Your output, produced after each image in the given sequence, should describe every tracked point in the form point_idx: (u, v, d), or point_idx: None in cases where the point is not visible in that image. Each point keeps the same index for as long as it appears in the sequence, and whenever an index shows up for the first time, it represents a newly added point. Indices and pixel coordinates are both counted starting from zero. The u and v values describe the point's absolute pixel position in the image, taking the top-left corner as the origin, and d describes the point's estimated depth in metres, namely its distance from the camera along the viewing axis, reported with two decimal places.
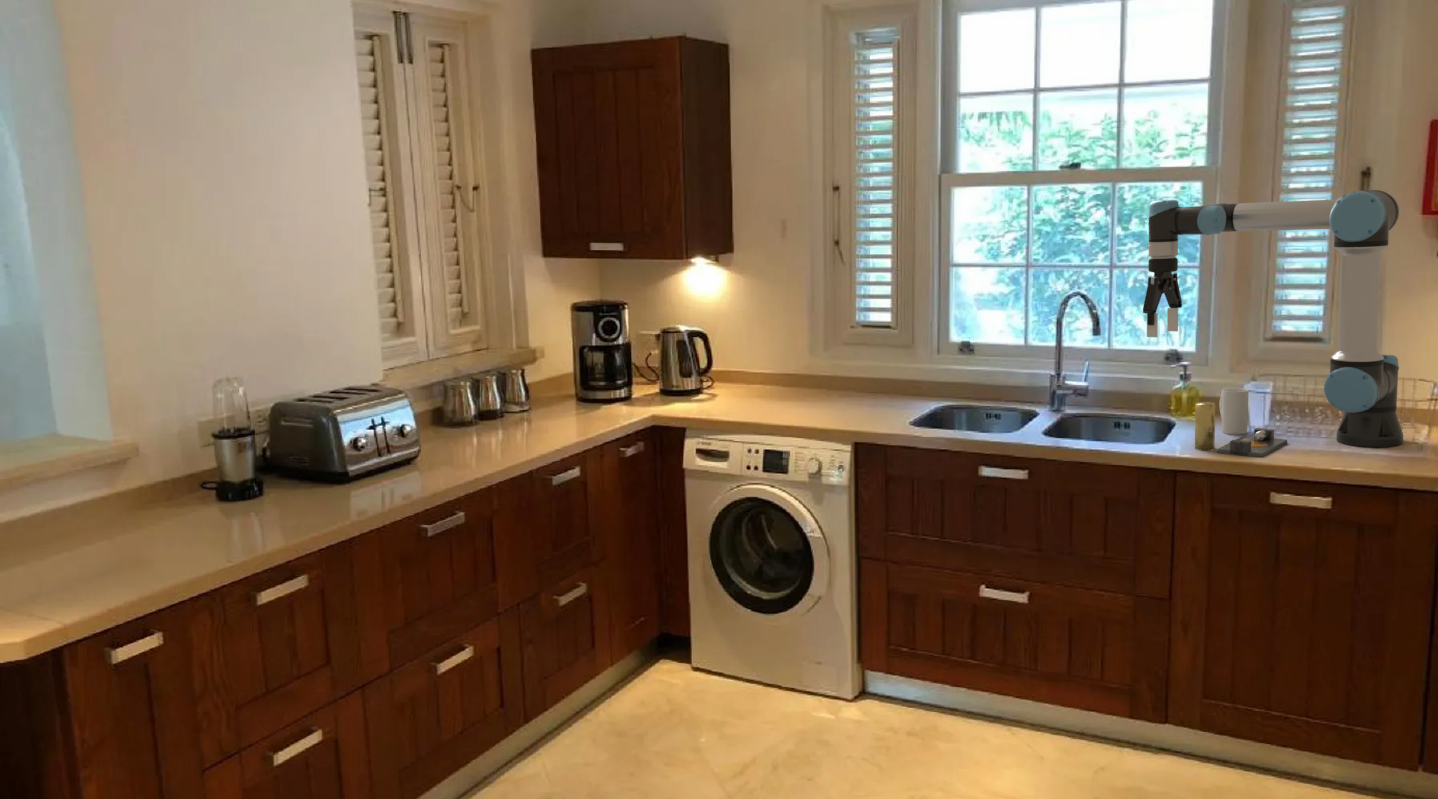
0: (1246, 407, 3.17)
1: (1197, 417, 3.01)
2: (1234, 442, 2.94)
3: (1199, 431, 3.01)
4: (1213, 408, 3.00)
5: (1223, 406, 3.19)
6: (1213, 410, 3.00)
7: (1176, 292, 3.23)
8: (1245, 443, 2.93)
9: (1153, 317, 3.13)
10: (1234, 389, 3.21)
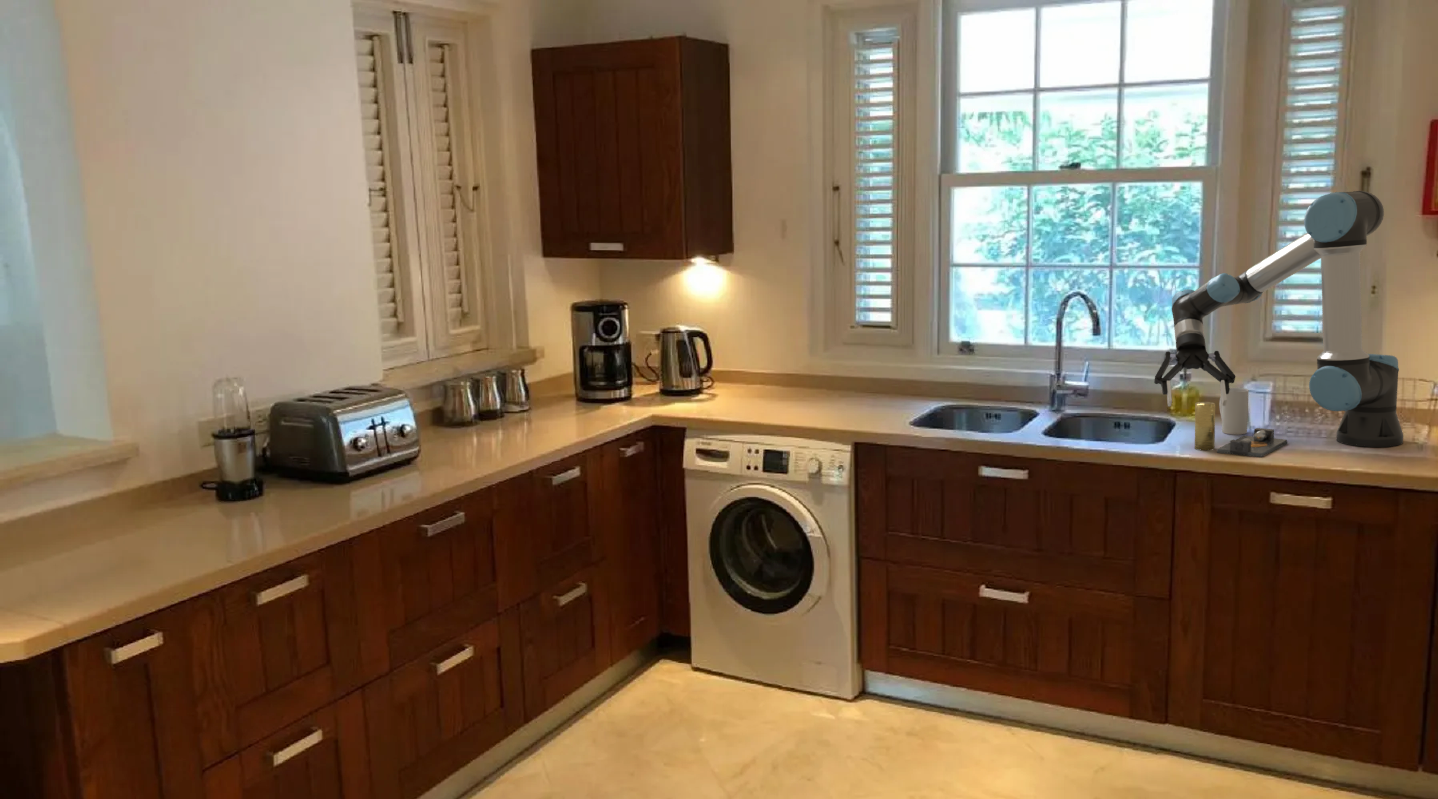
0: (1246, 407, 3.17)
1: (1197, 417, 3.01)
2: (1234, 442, 2.94)
3: (1199, 431, 3.01)
4: (1213, 408, 3.00)
5: (1223, 406, 3.19)
6: (1213, 410, 3.00)
7: (1222, 368, 3.11)
8: (1245, 443, 2.93)
9: (1164, 385, 3.12)
10: (1234, 389, 3.21)
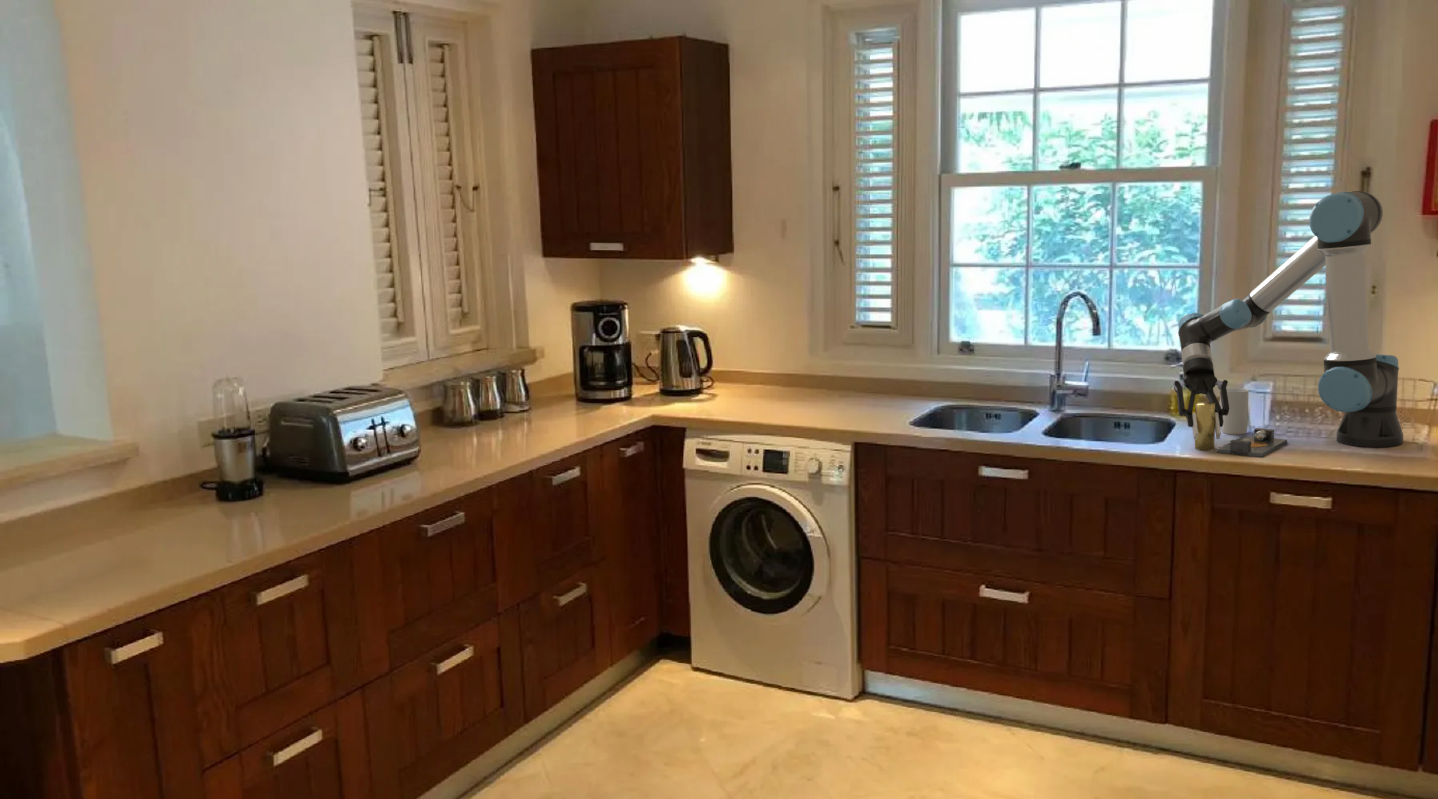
0: (1246, 407, 3.17)
1: (1197, 417, 3.01)
2: (1234, 442, 2.94)
3: (1199, 431, 3.01)
4: (1213, 408, 3.00)
5: None
6: (1213, 410, 3.00)
7: (1222, 397, 3.04)
8: (1245, 443, 2.93)
9: (1190, 417, 3.03)
10: (1234, 389, 3.21)
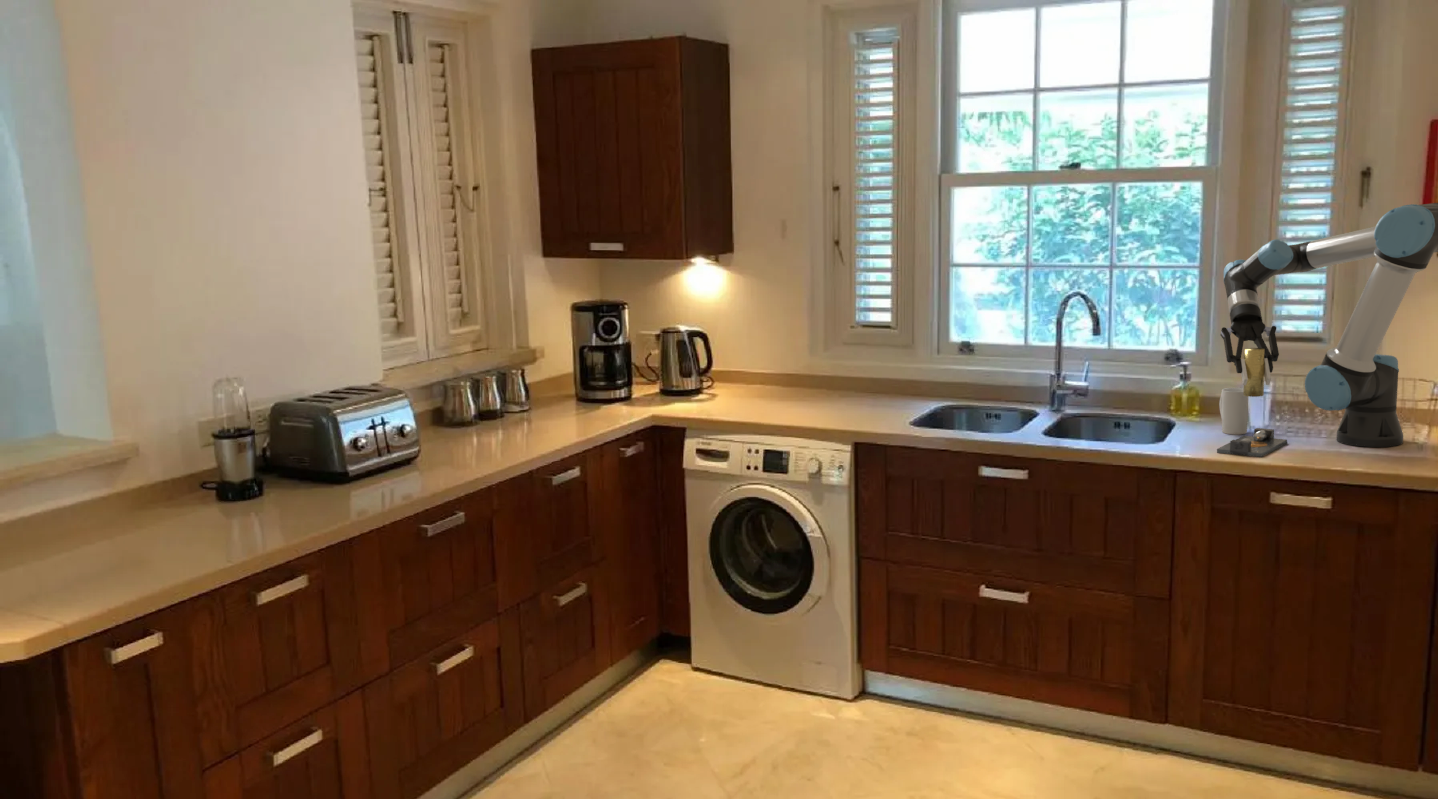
0: (1246, 407, 3.17)
1: (1246, 362, 2.96)
2: (1234, 442, 2.94)
3: (1248, 377, 2.96)
4: (1262, 353, 2.95)
5: (1223, 406, 3.19)
6: (1263, 355, 2.95)
7: (1271, 343, 2.99)
8: (1245, 443, 2.93)
9: (1239, 363, 2.98)
10: (1234, 389, 3.21)
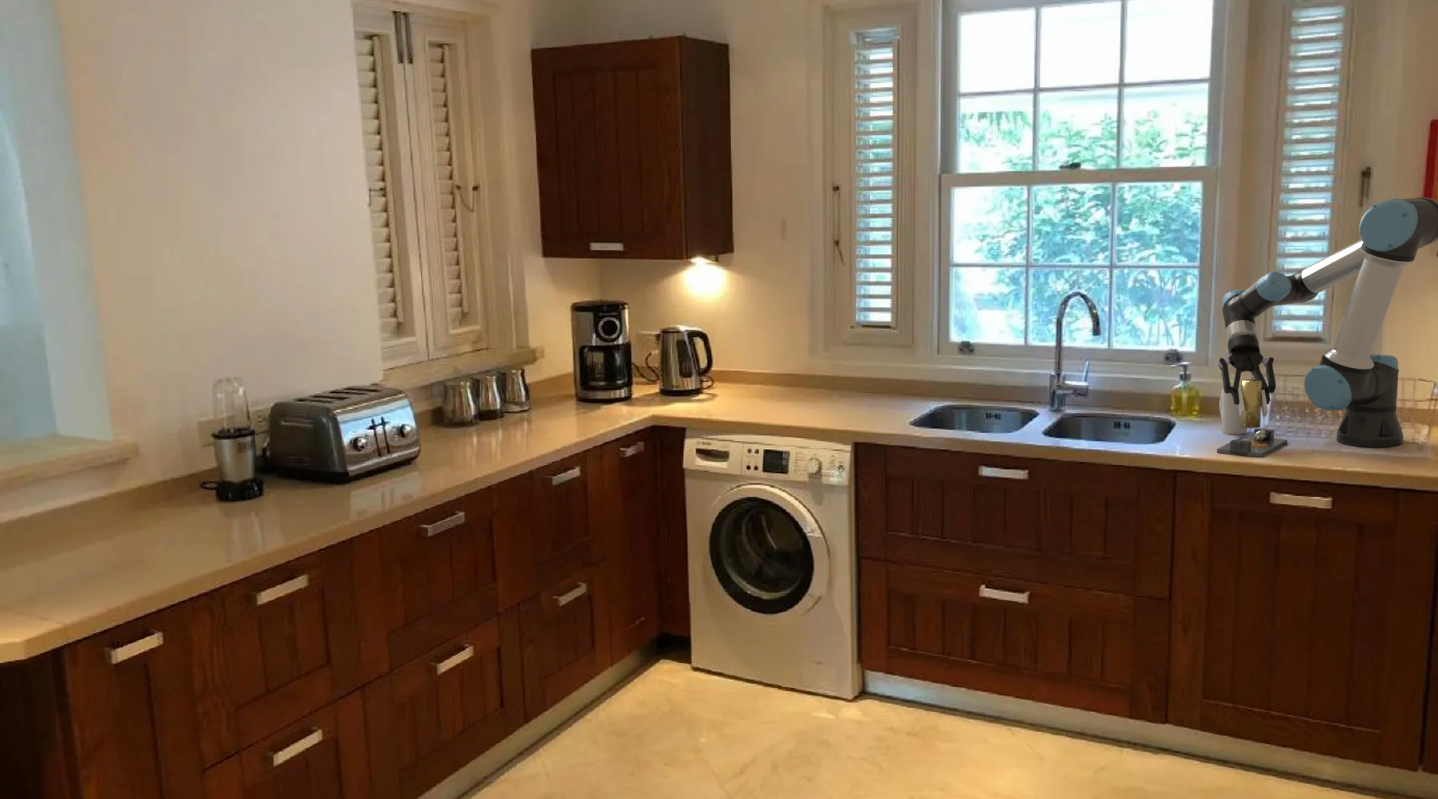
0: None
1: (1243, 394, 2.98)
2: (1234, 442, 2.94)
3: (1245, 409, 2.98)
4: (1259, 385, 2.97)
5: (1223, 406, 3.19)
6: (1260, 387, 2.97)
7: (1268, 375, 3.01)
8: (1245, 443, 2.93)
9: (1236, 394, 3.00)
10: None
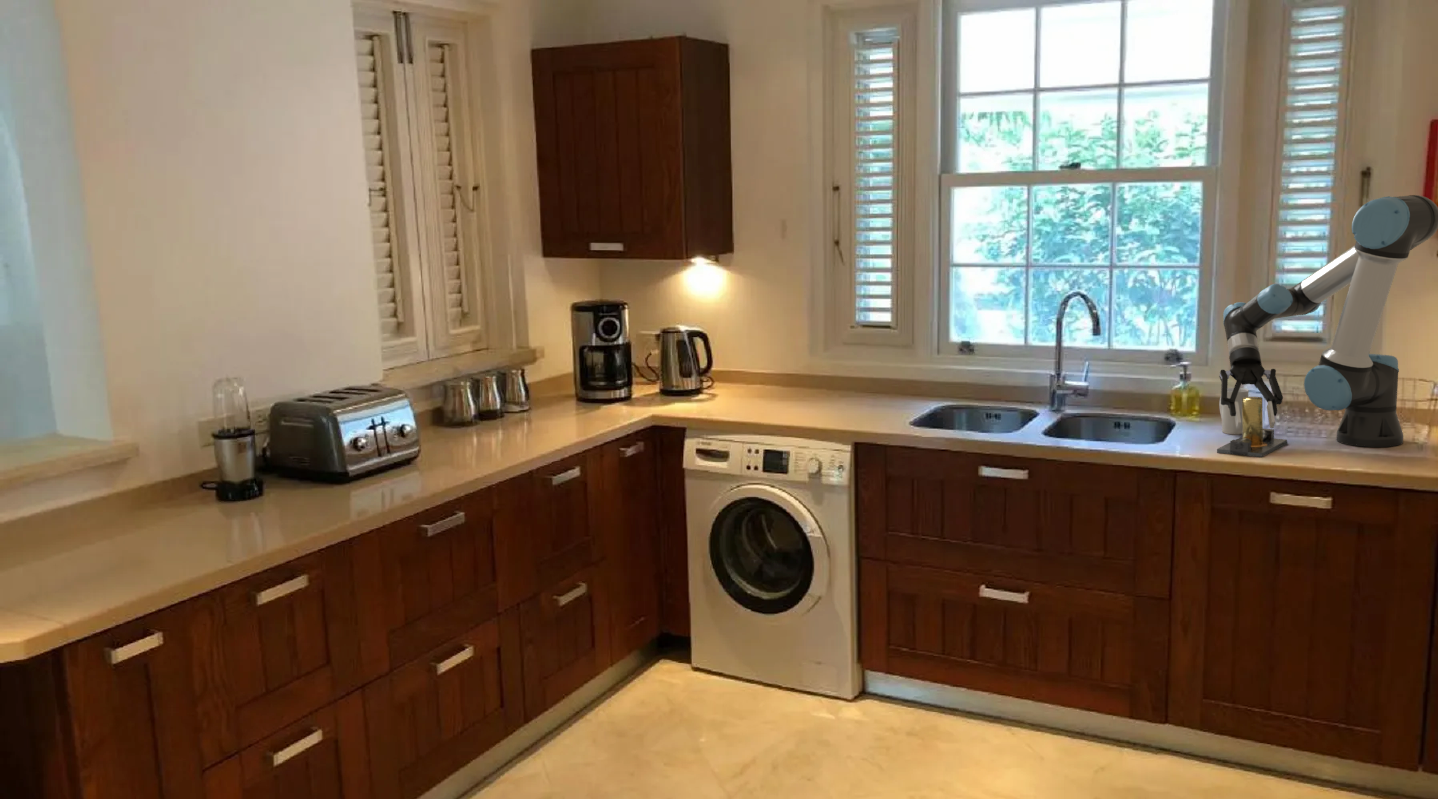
0: None
1: (1244, 412, 2.99)
2: (1234, 442, 2.94)
3: (1247, 427, 2.99)
4: (1260, 403, 2.97)
5: (1223, 406, 3.19)
6: (1261, 405, 2.97)
7: (1273, 387, 3.01)
8: (1245, 443, 2.93)
9: (1232, 406, 3.00)
10: None
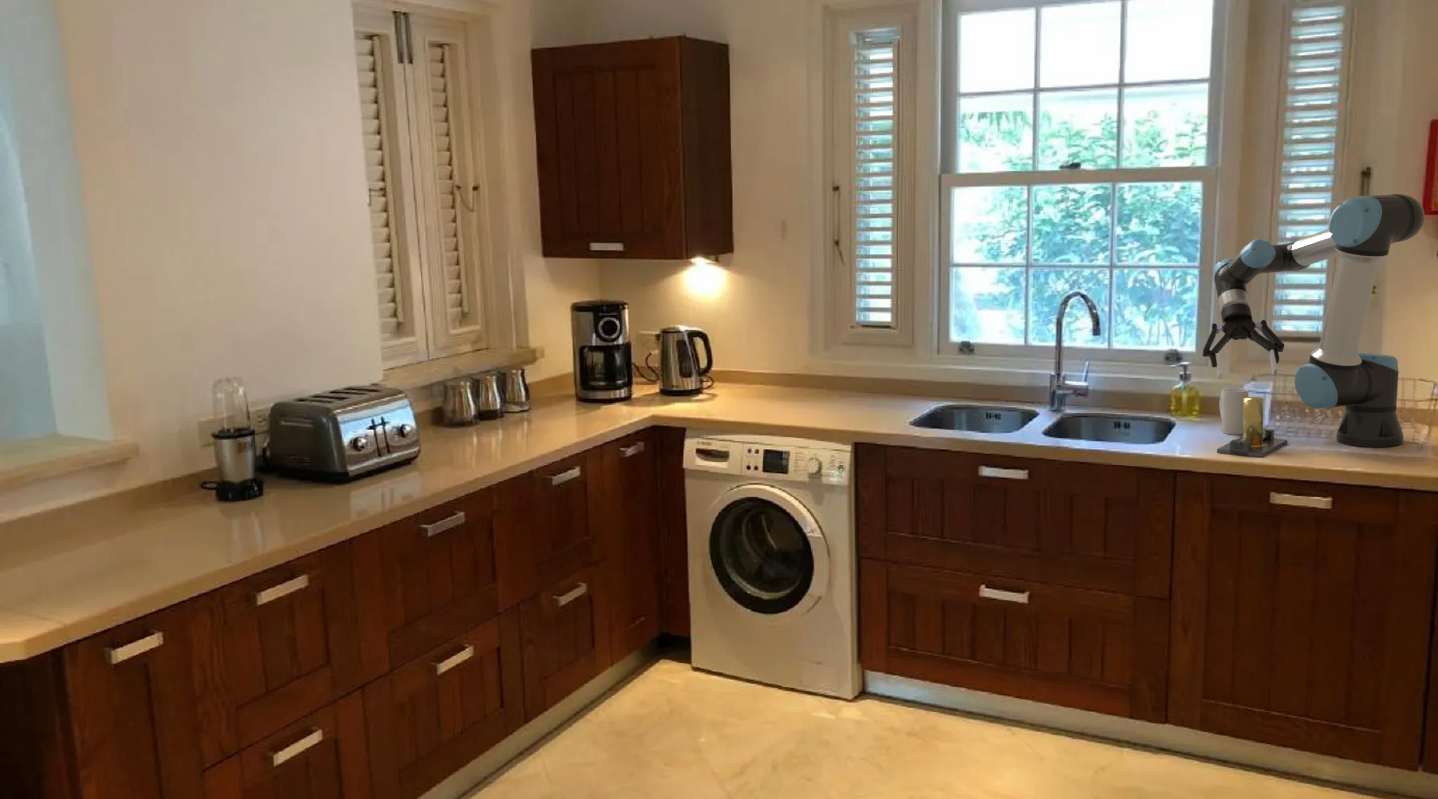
0: None
1: (1245, 411, 2.99)
2: (1234, 442, 2.94)
3: (1247, 426, 2.99)
4: (1261, 403, 2.97)
5: (1223, 406, 3.19)
6: (1262, 405, 2.97)
7: (1270, 337, 3.11)
8: (1245, 443, 2.93)
9: (1213, 357, 3.11)
10: (1234, 389, 3.21)
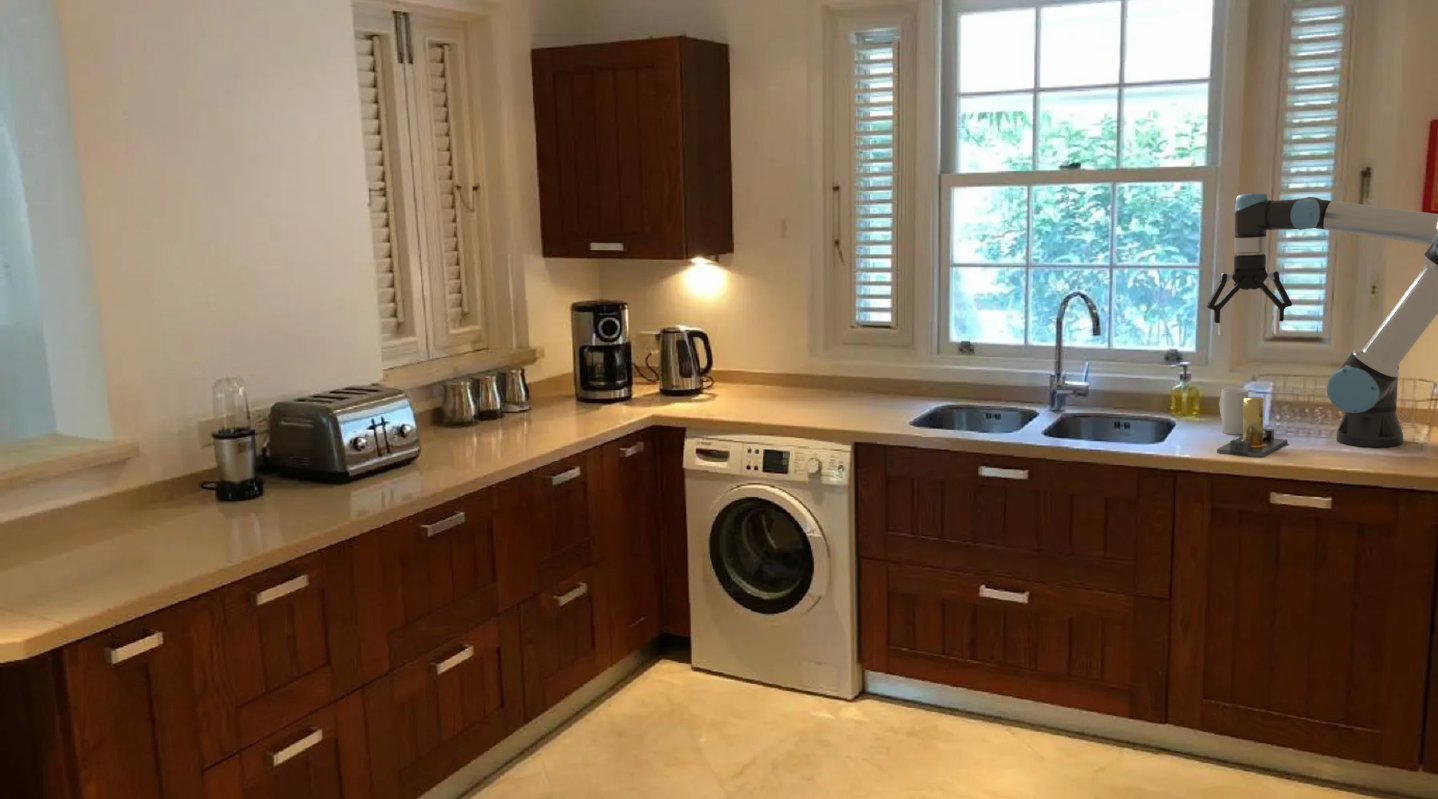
0: None
1: (1245, 411, 2.99)
2: (1234, 442, 2.94)
3: (1247, 426, 2.99)
4: (1261, 403, 2.97)
5: (1223, 406, 3.19)
6: (1261, 405, 2.97)
7: (1280, 292, 2.99)
8: (1245, 443, 2.93)
9: (1217, 315, 3.04)
10: (1234, 389, 3.21)
